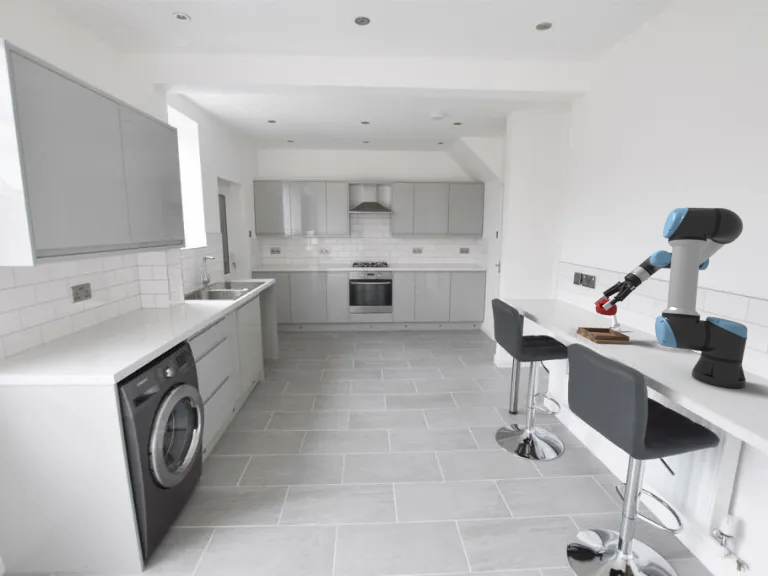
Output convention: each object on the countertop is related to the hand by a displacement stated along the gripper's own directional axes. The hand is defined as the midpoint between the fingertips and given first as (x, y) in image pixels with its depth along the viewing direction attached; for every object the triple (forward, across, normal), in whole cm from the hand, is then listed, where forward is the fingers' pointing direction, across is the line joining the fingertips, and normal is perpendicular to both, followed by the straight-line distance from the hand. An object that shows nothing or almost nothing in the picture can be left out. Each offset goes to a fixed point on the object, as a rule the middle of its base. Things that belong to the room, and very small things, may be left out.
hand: (599, 306), depth 195 cm
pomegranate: (+1, 0, -5) cm, 5 cm away
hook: (0, +19, -24) cm, 31 cm away
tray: (+10, 0, -14) cm, 17 cm away
